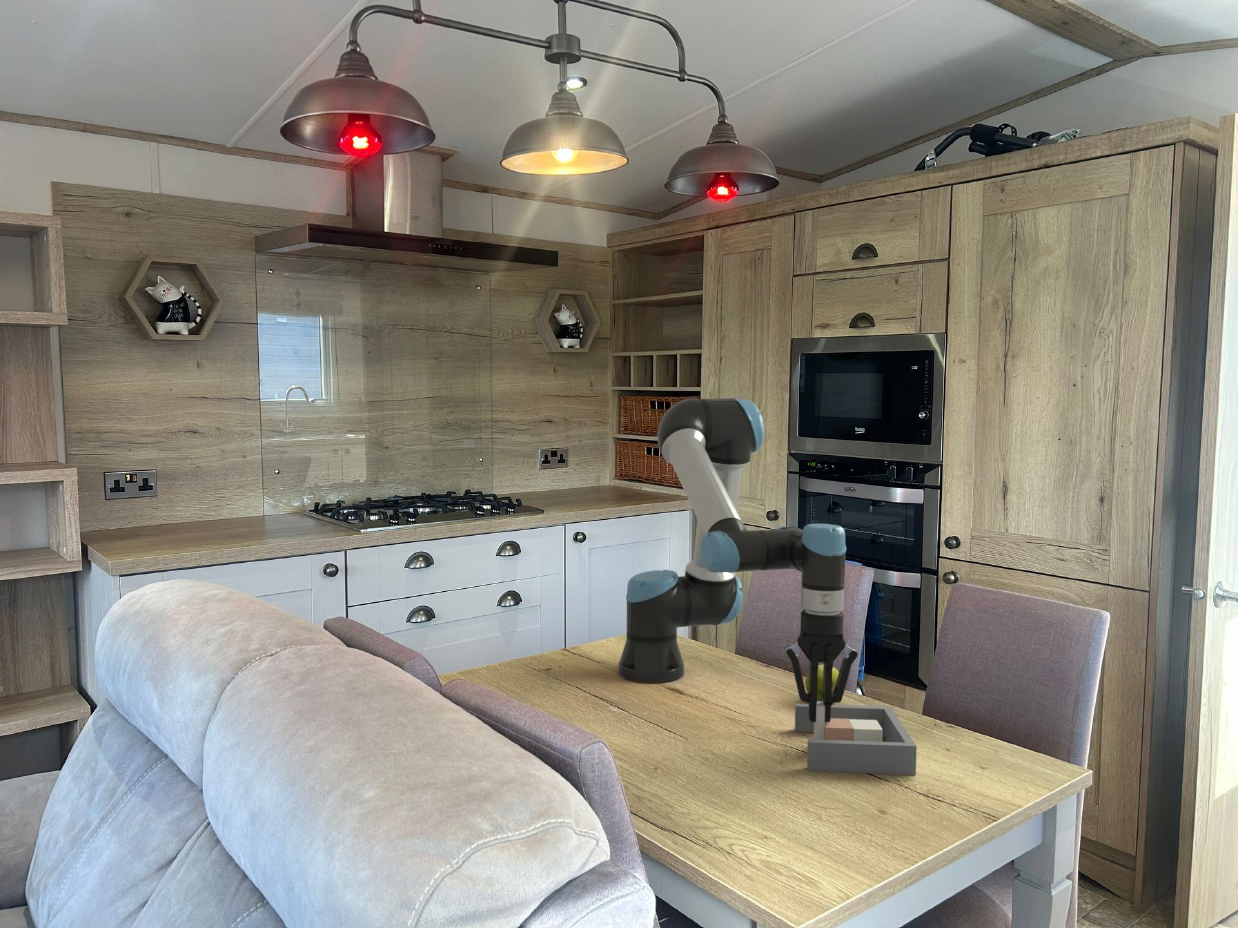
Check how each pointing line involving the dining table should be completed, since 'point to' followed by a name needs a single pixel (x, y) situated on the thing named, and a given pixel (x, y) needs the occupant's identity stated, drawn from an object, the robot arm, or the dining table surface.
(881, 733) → the tile
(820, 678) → the apple
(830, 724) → the tile
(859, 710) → the box
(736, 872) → the dining table surface
